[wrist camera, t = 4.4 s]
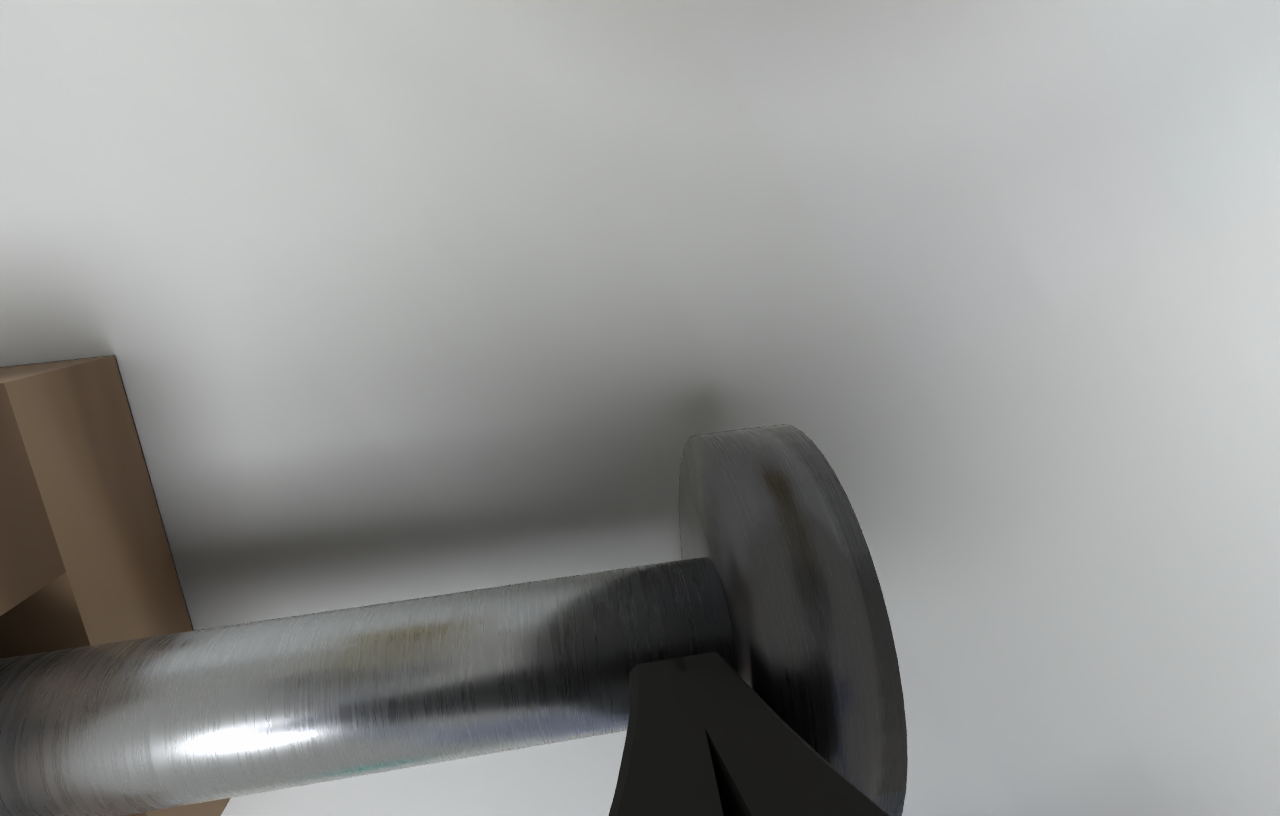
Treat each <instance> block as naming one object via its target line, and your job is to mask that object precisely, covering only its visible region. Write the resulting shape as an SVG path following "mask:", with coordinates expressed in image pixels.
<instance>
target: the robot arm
mask: <svg viewBox="0 0 1280 816" xmlns="http://www.w3.org/2000/svg"><path fill="white" fill-rule="evenodd" d="M629 679H630V688H631V697H630V712H629V720H628V728H627V735H626V741H625V746H624V751H623V756H622V761H621V766H620V771H619V776H618V781H617V786H616V790H615V794H614V798H613V802H612V805H611V809H610V813H609V816H891V815H889V814H888V813H887V812H886V811H884V810H883V809H882V808H881V807H880V806H878V805H877V804H876V803H875V802H874V801H872V800H871V799H870V798H869V797H868V796H866V795H865V794H864V793H863V792H862V791H860V790H859V789H858V788H857V787H856V786H854V785H853V784H852V783H851V782H850V781H848V780H847V779H846V778H845V777H844V776H843V775H842V774H840V773H839V772H838V771H837V770H836V769H835V768H834V767H832V766H831V765H830V764H829V763H828V762H827V761H826V760H825V759H824V758H822V757H821V756H820V755H819V754H818V753H817V752H816V751H815V750H814V749H813V748H812V747H811V746H810V745H808V744H807V743H806V742H805V741H804V740H803V739H802V738H801V737H800V736H799V735H798V734H797V733H796V732H795V731H793V730H792V729H791V728H790V727H789V726H788V725H787V724H786V723H785V722H784V721H783V720H782V719H781V718H780V717H779V716H778V715H777V714H776V713H775V712H774V711H773V710H772V709H771V708H770V707H769V706H768V705H767V704H766V703H765V702H764V701H763V700H762V699H761V698H760V697H759V696H758V695H757V694H756V692H755V691H754V690H753V689H752V688H751V687H750V686H749V685H748V684H747V683H746V682H745V681H744V680H743V679H742V678H741V676H740V675H739V674H738V673H737V672H736V671H735V670H734V669H733V668H732V666H731V665H730V664H729V663H728V662H727V661H726V660H725V658H723V657H722V656H721V655H720V654H718V653H717V652H710V653H704V654H697V655H691V656H685V657H679V658H673V659H667V660H661V661H654V662H648V663H642V664H636V666H635V667H634V668H633V669H632V670H631V671H630V673H629Z"/></svg>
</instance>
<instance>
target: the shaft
mask: <svg viewBox="0 0 1280 816" xmlns="http://www.w3.org/2000/svg"><path fill="white" fill-rule="evenodd" d="M679 519H680V537H681V550H682V560H680V561H673V562H666V563H659V564H652V565H645V566H638V567H631V568H624V569H617V570H610V571H604V572H597V573H590V574H583V575H576V576H569V577H562V578H555V579H548V580H541V581H534V582H527V583H520V584H514V585H507V586H500V587H493V588H486V589H479V590H472V591H465V592H458V593H451V594H444V595H437V596H430V597H424V598H417V599H410V600H403V601H396V602H389V603H382V604H375V605H368V606H361V607H354V608H347V609H340V610H334V611H327V612H320V613H313V614H306V615H299V616H292V617H285V618H278V619H271V620H264V621H257V622H251V623H244V624H237V625H230V626H223V627H216V628H209V629H202V630H195V631H188V632H181V633H174V634H167V635H161V636H154V637H147V638H140V639H133V640H126V641H119V642H112V643H105V644H98V645H91V646H84V647H77V648H71V649H64V650H57V651H50V652H43V653H36V654H29V655H22V656H15V657H8V658H1V659H0V816H125V815H131V814H137V813H143V812H149V811H155V810H161V809H166V808H172V807H178V806H184V805H190V804H196V803H202V802H208V801H214V800H220V799H225V798H231V797H237V796H243V795H249V794H255V793H261V792H267V791H273V790H278V789H284V788H290V787H296V786H302V785H308V784H314V783H320V782H326V781H332V780H337V779H343V778H349V777H355V776H361V775H367V774H373V773H379V772H385V771H391V770H396V769H402V768H408V767H414V766H420V765H426V764H432V763H438V762H444V761H449V760H455V759H461V758H467V757H473V756H479V755H485V754H491V753H497V752H503V751H508V750H514V749H520V748H526V747H532V746H538V745H544V744H550V743H556V742H561V741H567V740H573V739H579V738H585V737H591V736H597V735H603V734H609V733H615V732H620V731H626V730H627V728H628V720H629V712H630V697H631V688H630V679H629V673H630V671H631V670H632V669H633V668H634V667H635V666H636V664H642V663H648V662H654V661H661V660H667V659H673V658H679V657H685V656H691V655H697V654H704V653H710V652H717V653H718V654H720V655H721V656H722V657H723V658H725V660H726V661H727V662H728V663H729V664H730V665H731V666H732V668H733V669H734V670H735V671H736V672H737V673H738V674H739V675H740V676H741V678H742V679H743V680H744V681H745V682H746V683H747V684H748V685H749V686H750V687H751V688H752V689H753V690H754V691H755V692H756V694H757V695H758V696H759V697H760V698H761V699H762V700H763V701H764V702H765V703H766V704H767V705H768V706H769V707H770V708H771V709H772V710H773V711H774V712H775V713H776V714H777V715H778V716H779V717H780V718H781V719H782V720H783V721H784V722H785V723H786V724H787V725H788V726H789V727H790V728H791V729H792V730H793V731H795V732H796V733H797V734H798V735H799V736H800V737H801V738H802V739H803V740H804V741H805V742H806V743H807V744H808V745H810V746H811V747H812V748H813V749H814V750H815V751H816V752H817V753H818V754H819V755H820V756H821V757H822V758H824V759H825V760H826V761H827V762H828V763H829V764H830V765H831V766H832V767H834V768H835V769H836V770H837V771H838V772H839V773H840V774H842V775H843V776H844V777H845V778H846V779H847V780H848V781H850V782H851V783H852V784H853V785H854V786H856V787H857V788H858V789H859V790H860V791H862V792H863V793H864V794H865V795H866V796H868V797H869V798H870V799H871V800H872V801H874V802H875V803H876V804H877V805H878V806H880V807H881V808H882V809H883V810H884V811H886V812H887V813H888V814H889V815H891V816H901V815H902V812H903V805H904V799H905V793H906V781H907V731H906V721H905V710H904V700H903V692H902V685H901V679H900V672H899V666H898V659H897V655H896V650H895V645H894V640H893V635H892V631H891V626H890V621H889V617H888V614H887V610H886V606H885V602H884V598H883V594H882V591H881V587H880V583H879V580H878V577H877V574H876V571H875V568H874V564H873V561H872V558H871V555H870V552H869V549H868V546H867V544H866V541H865V538H864V536H863V533H862V530H861V528H860V525H859V522H858V520H857V518H856V516H855V513H854V511H853V509H852V507H851V504H850V502H849V500H848V498H847V495H846V493H845V491H844V490H843V488H842V486H841V484H840V482H839V480H838V478H837V476H836V474H835V473H834V471H833V469H832V468H831V466H830V465H829V463H828V462H827V460H826V458H825V457H824V455H823V454H822V453H821V451H820V450H819V449H818V448H817V446H816V445H815V444H814V443H813V442H812V440H811V439H809V438H808V437H807V436H806V435H805V434H804V433H803V432H802V431H800V430H798V429H797V428H795V427H793V426H790V425H785V424H781V425H773V426H765V427H757V428H749V429H741V430H733V431H725V432H717V433H709V434H701V435H694V436H690V437H689V438H688V440H687V441H686V443H685V446H684V448H683V453H682V457H681V464H680V476H679Z"/></svg>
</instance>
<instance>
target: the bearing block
mask: <svg viewBox="0 0 1280 816" xmlns="http://www.w3.org/2000/svg"><path fill="white" fill-rule="evenodd" d="M188 631H193V629H192V626H191V622H190V619H189V615H188V612H187V608H186V605H185V601H184V598H183V594H182V591H181V587H180V584H179V580H178V577H177V573H176V570H175V566H174V563H173V559H172V556H171V552H170V549H169V545H168V542H167V538H166V535H165V531H164V528H163V524H162V521H161V517H160V514H159V510H158V507H157V503H156V500H155V496H154V493H153V489H152V486H151V482H150V479H149V475H148V472H147V468H146V465H145V461H144V458H143V454H142V451H141V447H140V444H139V440H138V437H137V433H136V430H135V426H134V423H133V419H132V416H131V412H130V409H129V405H128V402H127V398H126V395H125V391H124V388H123V384H122V381H121V377H120V374H119V370H118V367H117V363H116V360H115V356H114V355H113V356H103V357H94V358H84V359H74V360H65V361H55V362H45V363H36V364H26V365H16V366H7V367H0V659H1V658H8V657H15V656H22V655H29V654H36V653H43V652H50V651H57V650H64V649H71V648H77V647H84V646H91V645H98V644H105V643H112V642H119V641H126V640H133V639H140V638H147V637H154V636H161V635H167V634H174V633H181V632H188ZM229 800H230V798H225V799H220V800H214V801H208V802H202V803H196V804H190V805H184V806H178V807H172V808H166V809H161V810H155V811H149V812H143V813H137V814H131V815H125V816H220V815H221V814H222V812H223V810H224V809H225V807H226V805H227V803H228V802H229Z"/></svg>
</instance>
